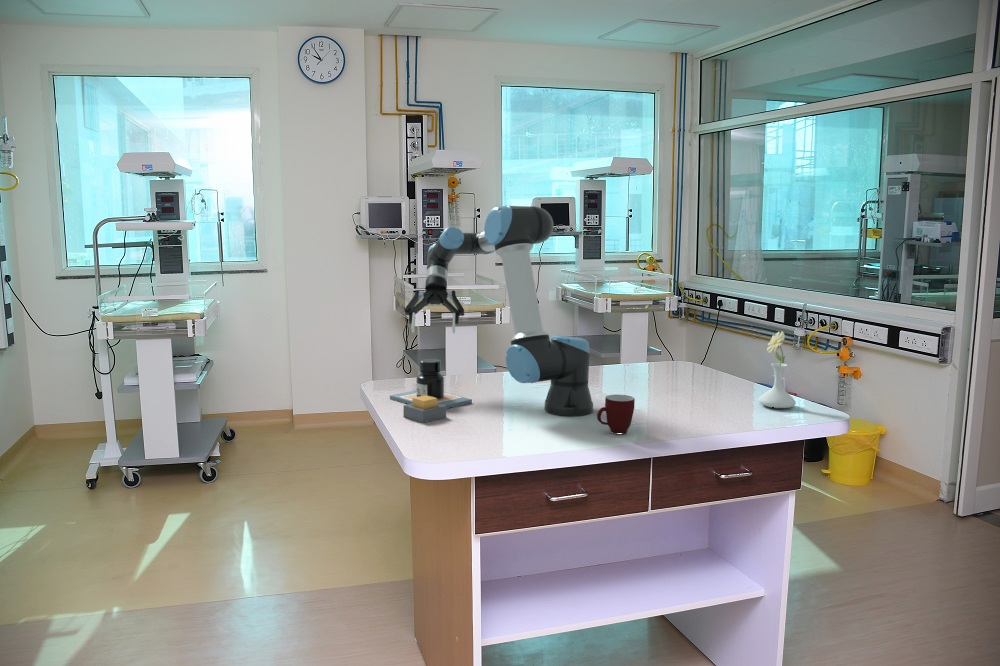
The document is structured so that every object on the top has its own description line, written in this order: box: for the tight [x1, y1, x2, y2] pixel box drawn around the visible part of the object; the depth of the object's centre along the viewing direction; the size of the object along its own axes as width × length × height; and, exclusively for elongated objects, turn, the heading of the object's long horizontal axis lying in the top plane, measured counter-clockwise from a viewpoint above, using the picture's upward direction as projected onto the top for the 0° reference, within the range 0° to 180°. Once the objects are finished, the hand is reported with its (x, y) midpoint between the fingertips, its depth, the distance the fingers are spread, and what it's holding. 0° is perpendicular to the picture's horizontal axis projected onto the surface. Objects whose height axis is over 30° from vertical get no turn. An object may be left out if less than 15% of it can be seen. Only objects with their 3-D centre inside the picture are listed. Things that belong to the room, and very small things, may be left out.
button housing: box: [403, 403, 447, 423], centre depth 228 cm, size 9×9×4 cm
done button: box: [412, 395, 437, 409], centre depth 228 cm, size 5×5×4 cm
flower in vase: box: [757, 330, 796, 409], centre depth 244 cm, size 13×11×25 cm
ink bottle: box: [416, 358, 445, 399], centre depth 247 cm, size 10×9×12 cm
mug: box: [596, 394, 636, 434], centre depth 214 cm, size 11×8×10 cm
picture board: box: [389, 390, 473, 409], centre depth 248 cm, size 22×16×1 cm
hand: (433, 330), depth 256 cm, fingers open, 13 cm apart
